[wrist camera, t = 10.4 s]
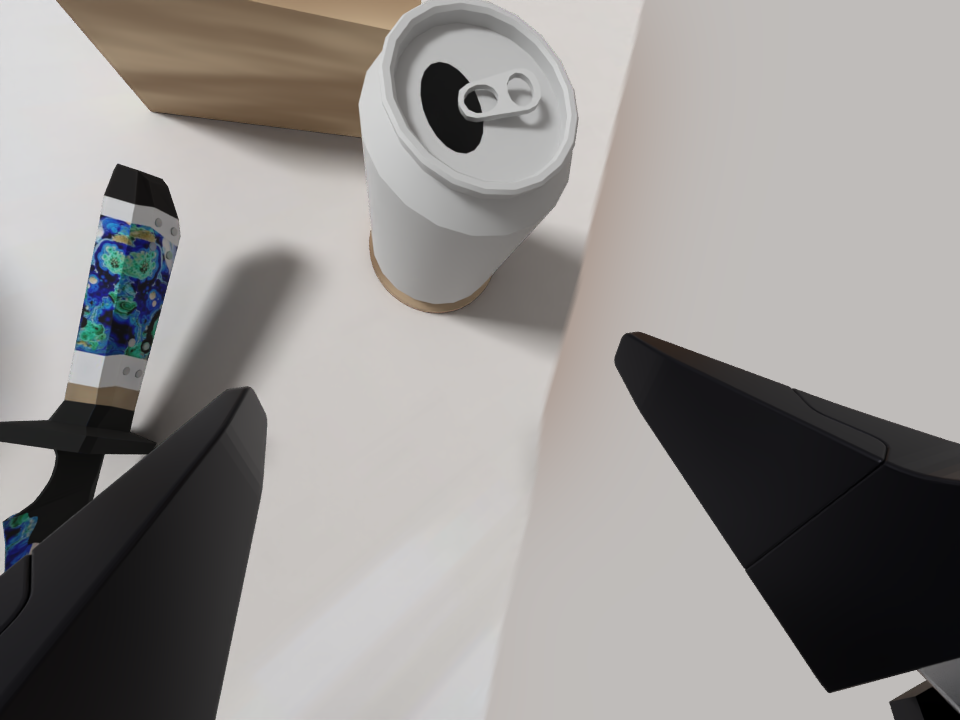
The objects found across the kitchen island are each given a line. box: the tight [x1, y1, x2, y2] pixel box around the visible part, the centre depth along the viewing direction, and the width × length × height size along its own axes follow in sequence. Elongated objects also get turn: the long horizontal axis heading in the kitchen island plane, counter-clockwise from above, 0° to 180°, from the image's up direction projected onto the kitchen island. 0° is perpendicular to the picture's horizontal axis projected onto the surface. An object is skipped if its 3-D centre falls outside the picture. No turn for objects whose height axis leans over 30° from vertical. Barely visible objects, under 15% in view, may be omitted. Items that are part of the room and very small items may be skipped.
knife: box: [0, 164, 181, 572], centre depth 15 cm, size 31×3×4 cm, turn 164°
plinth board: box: [56, 0, 421, 137], centre depth 17 cm, size 2×14×7 cm, turn 94°
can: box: [359, 0, 578, 304], centre depth 16 cm, size 8×8×12 cm
